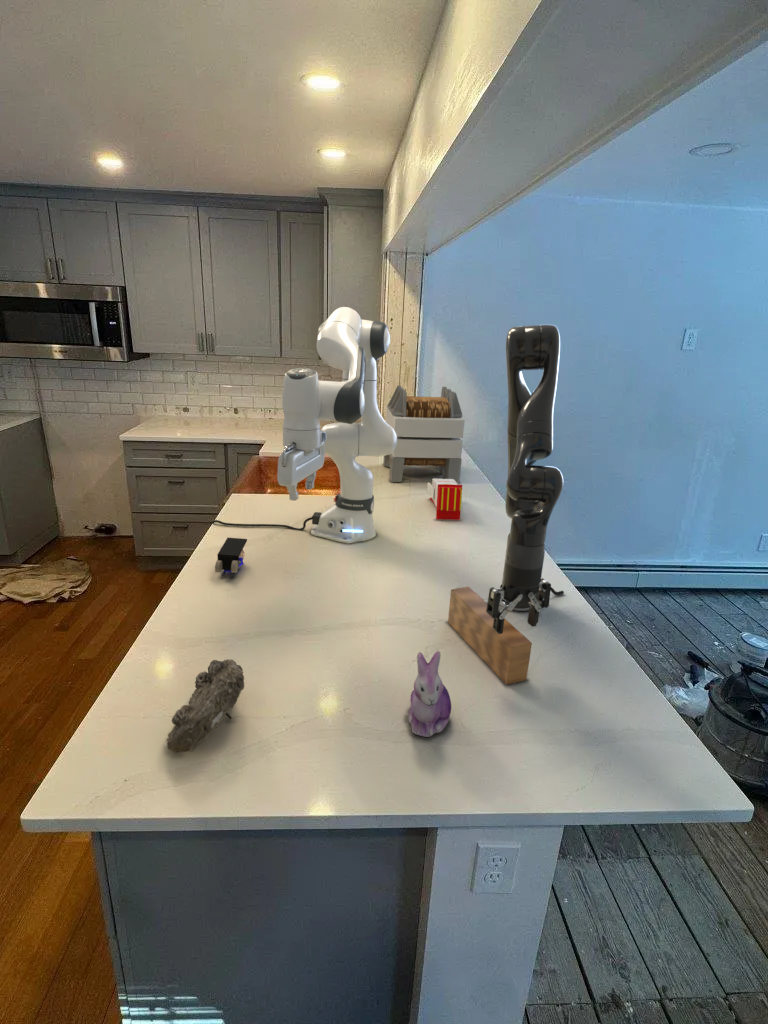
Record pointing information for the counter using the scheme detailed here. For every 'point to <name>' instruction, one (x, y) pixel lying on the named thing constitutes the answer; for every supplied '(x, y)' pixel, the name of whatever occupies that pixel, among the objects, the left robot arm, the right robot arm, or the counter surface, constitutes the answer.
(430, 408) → the transformer
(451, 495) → the toy
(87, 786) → the counter surface
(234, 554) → the figurine character
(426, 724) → the figurine
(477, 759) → the counter surface
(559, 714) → the counter surface
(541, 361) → the right robot arm
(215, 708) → the fossil
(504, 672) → the bar
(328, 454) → the left robot arm
